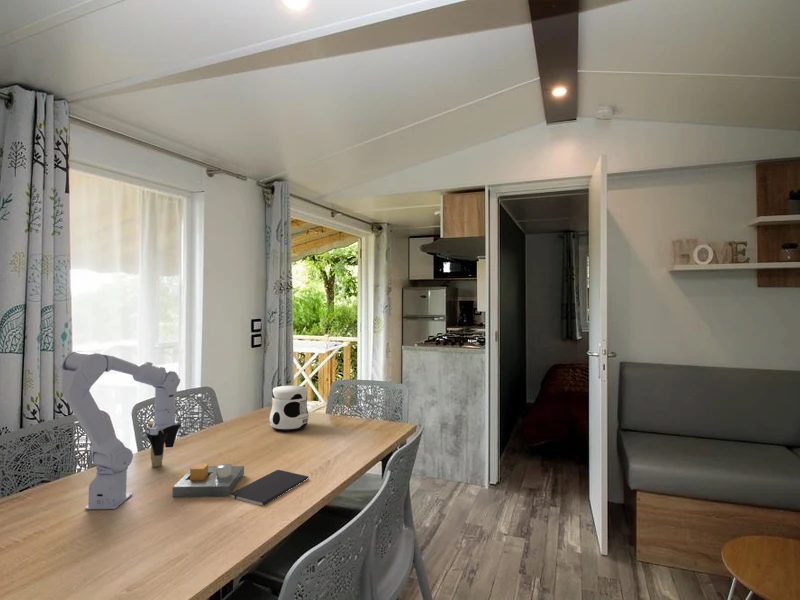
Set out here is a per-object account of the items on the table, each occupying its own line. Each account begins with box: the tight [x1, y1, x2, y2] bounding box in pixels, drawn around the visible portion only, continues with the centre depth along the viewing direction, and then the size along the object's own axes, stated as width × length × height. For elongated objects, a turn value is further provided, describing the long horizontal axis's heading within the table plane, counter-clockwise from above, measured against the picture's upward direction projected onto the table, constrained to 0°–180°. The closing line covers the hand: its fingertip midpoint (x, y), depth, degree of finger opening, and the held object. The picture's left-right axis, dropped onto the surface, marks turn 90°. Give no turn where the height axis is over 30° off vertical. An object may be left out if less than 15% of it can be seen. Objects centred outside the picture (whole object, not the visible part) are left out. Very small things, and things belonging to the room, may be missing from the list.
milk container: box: [269, 385, 310, 432], centre depth 200 cm, size 17×17×18 cm
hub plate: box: [171, 463, 245, 498], centre depth 136 cm, size 16×16×6 cm
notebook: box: [230, 469, 309, 506], centre depth 136 cm, size 13×2×21 cm
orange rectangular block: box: [189, 463, 209, 480], centre depth 136 cm, size 4×4×6 cm
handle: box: [147, 420, 165, 468], centre depth 152 cm, size 5×6×15 cm
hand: (164, 451), depth 139 cm, fingers open, 7 cm apart
